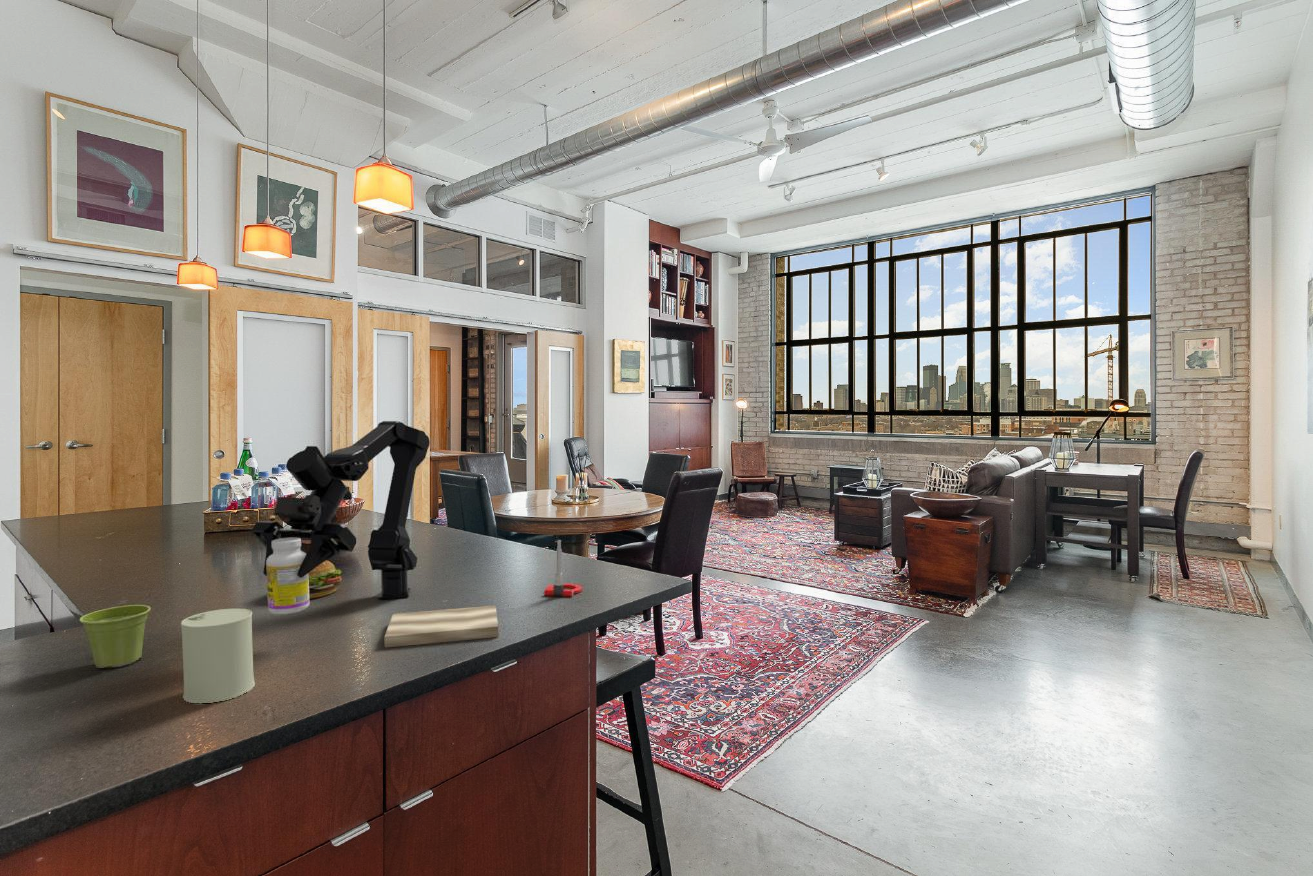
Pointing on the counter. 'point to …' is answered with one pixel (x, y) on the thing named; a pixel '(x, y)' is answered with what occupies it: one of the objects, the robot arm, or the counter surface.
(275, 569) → the supplement bottle
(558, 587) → the tow hook
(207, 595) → the counter surface
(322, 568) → the food
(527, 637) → the counter surface
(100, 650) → the plant pot
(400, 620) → the birch board
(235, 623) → the can
